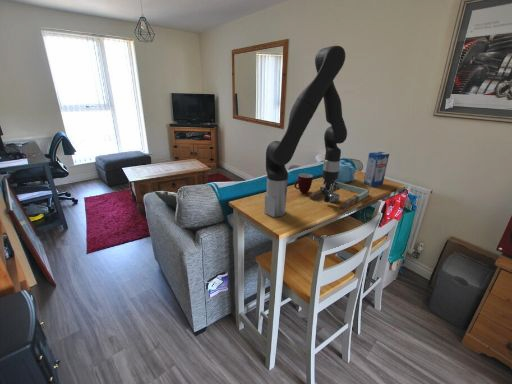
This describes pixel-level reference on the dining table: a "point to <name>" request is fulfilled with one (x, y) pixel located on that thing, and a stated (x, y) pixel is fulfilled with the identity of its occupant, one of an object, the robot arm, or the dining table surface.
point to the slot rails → (342, 205)
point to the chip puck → (334, 198)
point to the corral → (354, 190)
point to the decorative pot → (345, 172)
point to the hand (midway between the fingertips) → (326, 201)
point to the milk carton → (376, 168)
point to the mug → (304, 182)
